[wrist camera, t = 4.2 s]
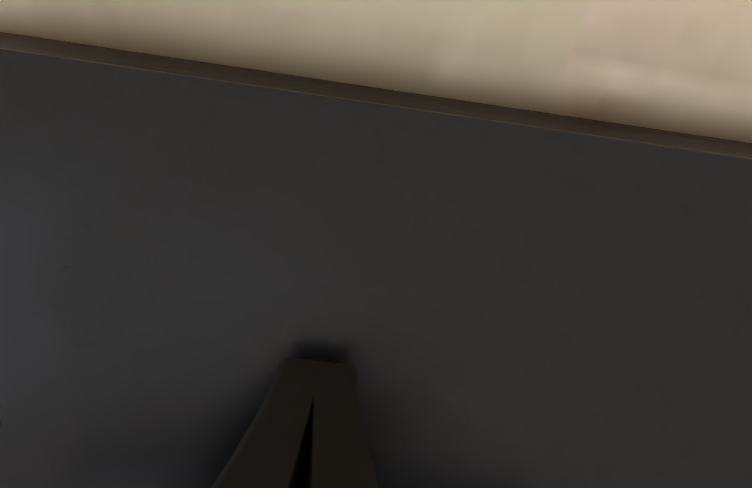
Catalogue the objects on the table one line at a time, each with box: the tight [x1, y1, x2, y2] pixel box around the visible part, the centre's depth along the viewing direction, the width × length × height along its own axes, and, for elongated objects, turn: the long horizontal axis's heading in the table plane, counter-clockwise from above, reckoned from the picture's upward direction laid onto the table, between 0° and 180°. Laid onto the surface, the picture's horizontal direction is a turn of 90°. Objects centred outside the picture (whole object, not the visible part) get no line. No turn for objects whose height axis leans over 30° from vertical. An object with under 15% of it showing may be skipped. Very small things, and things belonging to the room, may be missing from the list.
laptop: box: [0, 32, 752, 158], centre depth 20 cm, size 21×30×2 cm
